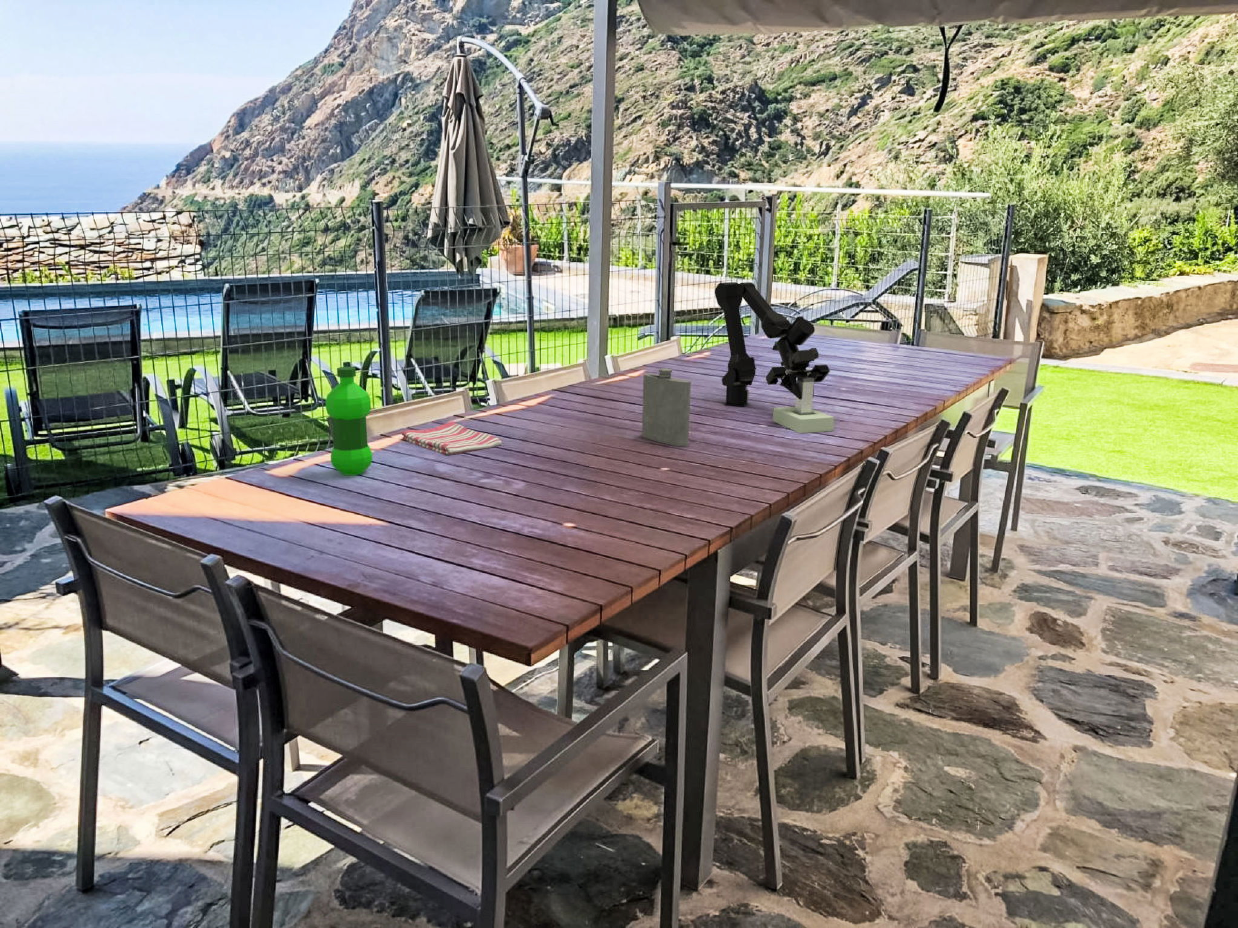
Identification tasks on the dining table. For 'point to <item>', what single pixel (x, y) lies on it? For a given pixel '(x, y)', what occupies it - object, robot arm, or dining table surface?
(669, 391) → the hip flask
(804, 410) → the pale grey square post
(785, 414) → the post foot
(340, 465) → the plastic bottle
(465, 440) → the dish towel
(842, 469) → the dining table surface
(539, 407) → the dining table surface
